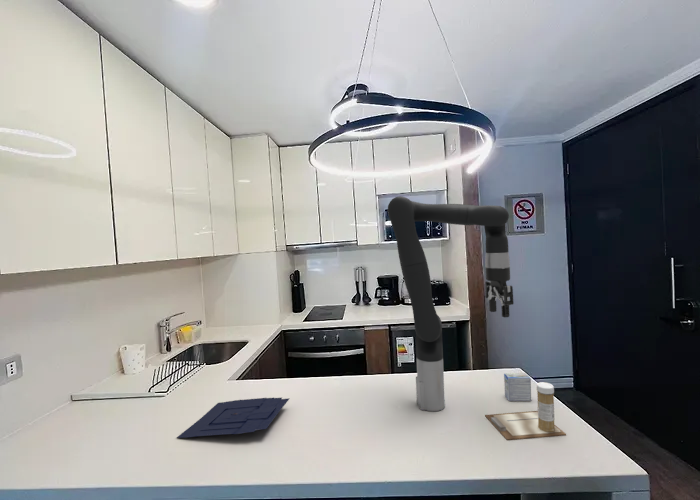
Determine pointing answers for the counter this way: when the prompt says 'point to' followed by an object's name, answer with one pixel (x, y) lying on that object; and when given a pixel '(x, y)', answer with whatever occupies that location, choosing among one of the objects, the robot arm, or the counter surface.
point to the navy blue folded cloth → (236, 417)
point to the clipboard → (520, 425)
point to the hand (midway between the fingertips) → (499, 314)
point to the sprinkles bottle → (545, 406)
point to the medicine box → (517, 386)
